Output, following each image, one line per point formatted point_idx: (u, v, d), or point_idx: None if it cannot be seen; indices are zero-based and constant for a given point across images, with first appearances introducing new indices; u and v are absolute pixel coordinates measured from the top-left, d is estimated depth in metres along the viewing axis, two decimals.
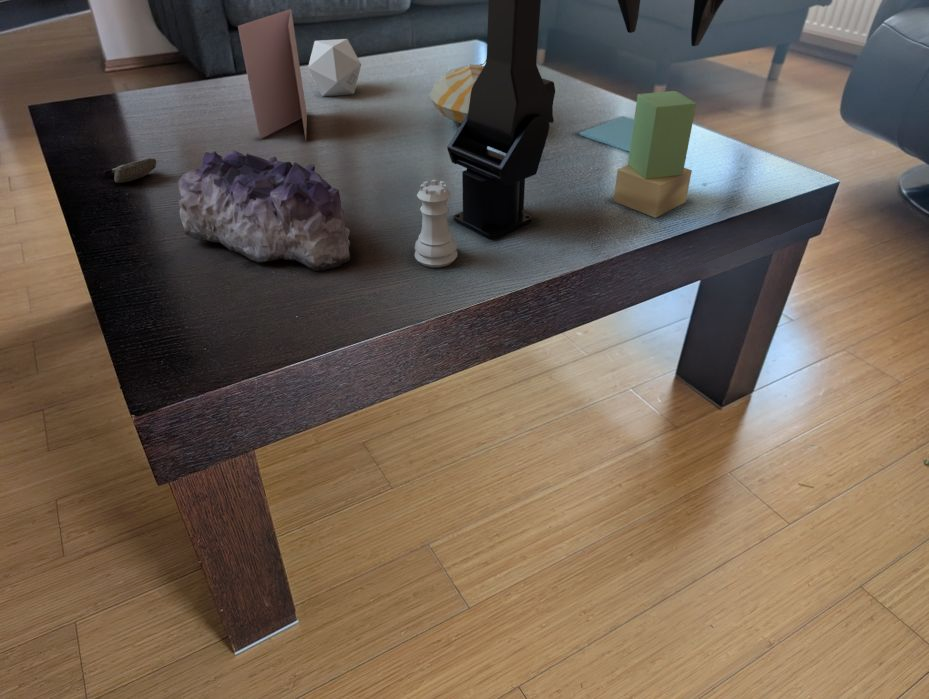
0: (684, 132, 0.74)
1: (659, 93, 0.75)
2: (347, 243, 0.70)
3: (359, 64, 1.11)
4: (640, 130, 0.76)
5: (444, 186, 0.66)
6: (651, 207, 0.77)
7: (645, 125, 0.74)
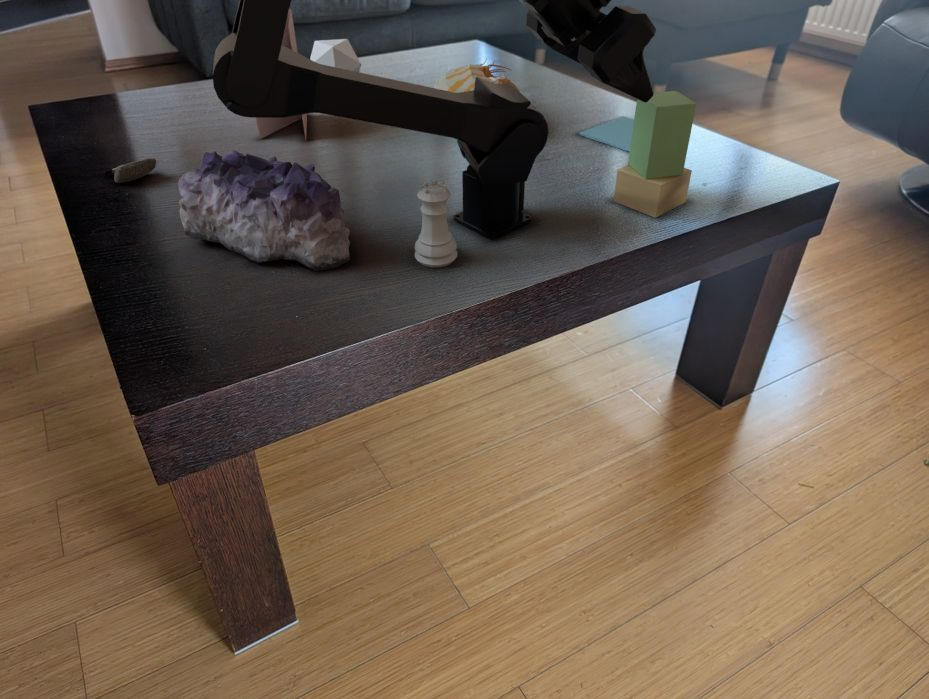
0: (684, 132, 0.74)
1: (659, 93, 0.75)
2: (347, 243, 0.70)
3: (359, 64, 1.11)
4: (640, 130, 0.76)
5: (444, 186, 0.66)
6: (651, 207, 0.77)
7: (645, 125, 0.74)
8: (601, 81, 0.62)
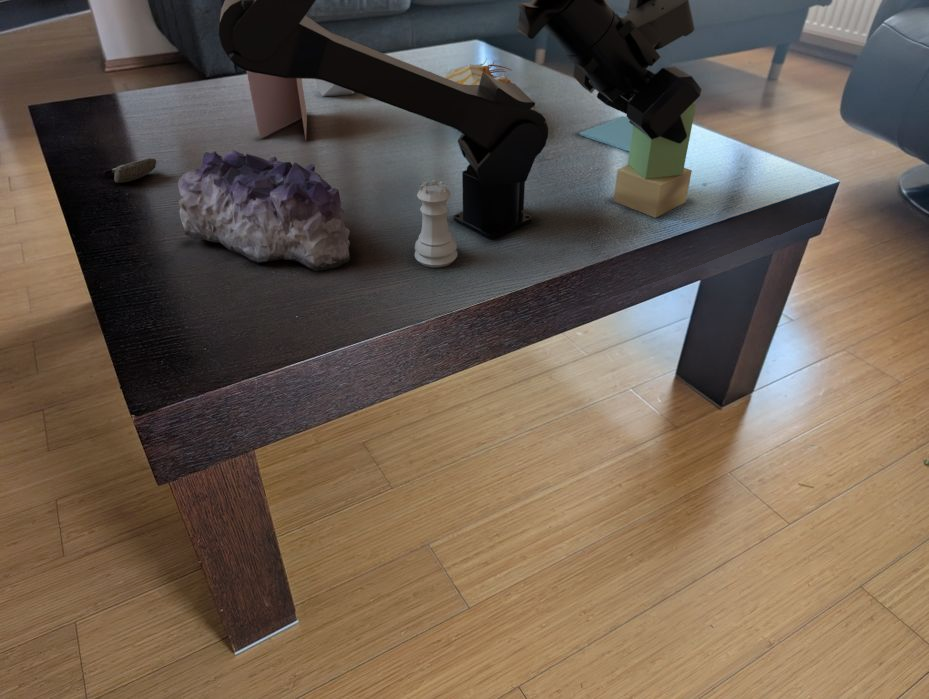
0: None
1: None
2: (347, 243, 0.70)
3: None
4: (639, 130, 0.76)
5: (444, 186, 0.66)
6: (651, 207, 0.77)
7: None
8: (649, 137, 0.66)
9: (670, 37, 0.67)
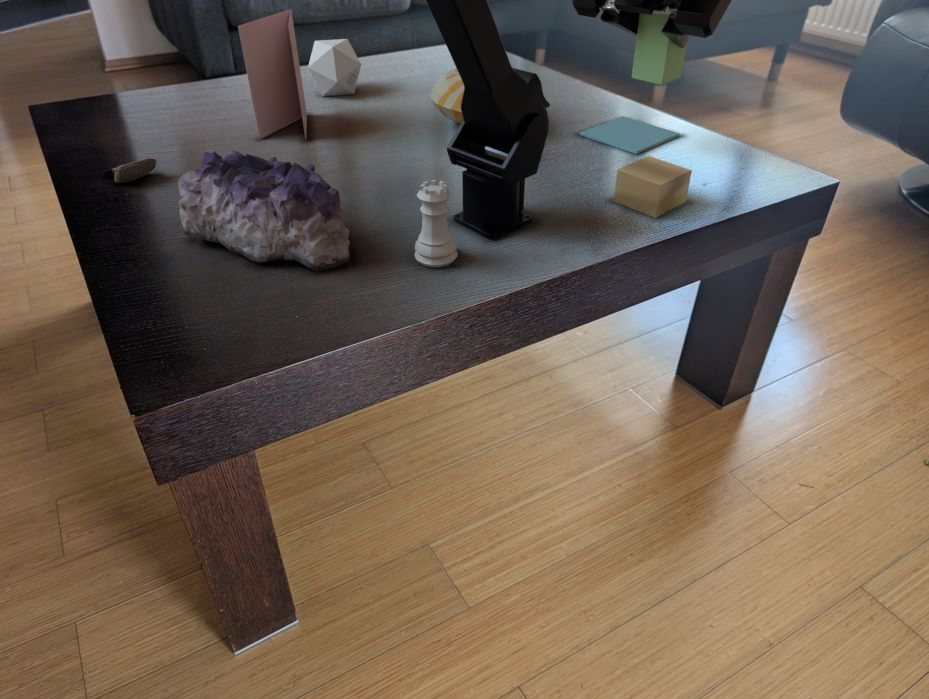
0: None
1: None
2: (347, 243, 0.70)
3: (359, 64, 1.11)
4: (648, 42, 0.85)
5: (444, 186, 0.66)
6: (651, 207, 0.77)
7: (657, 36, 0.84)
8: (702, 37, 0.76)
9: None
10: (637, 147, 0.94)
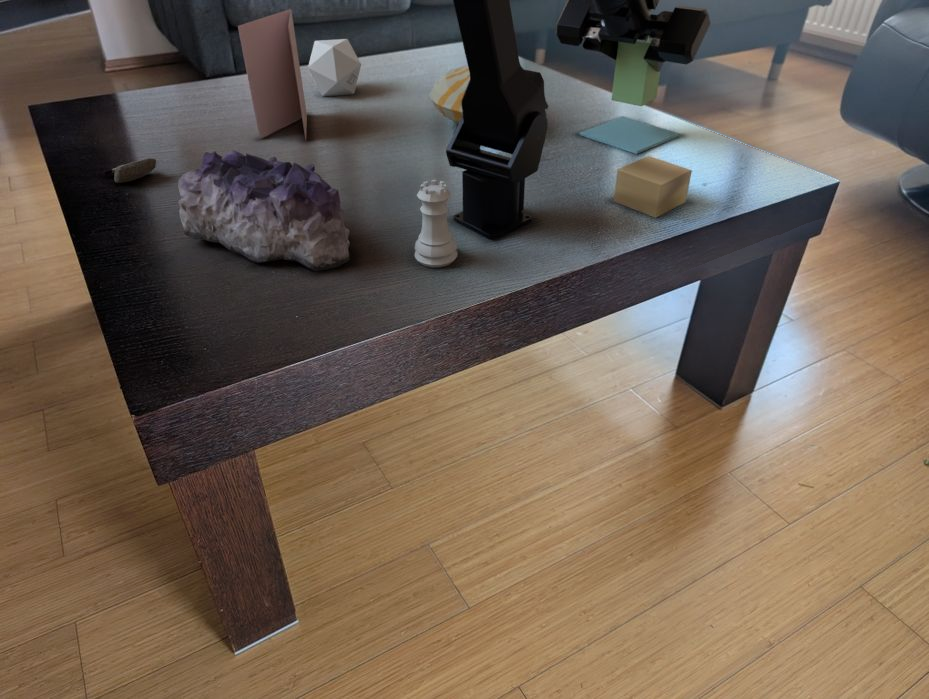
0: None
1: None
2: (346, 243, 0.70)
3: (359, 64, 1.11)
4: (627, 67, 0.91)
5: (444, 186, 0.66)
6: (651, 207, 0.77)
7: (635, 62, 0.90)
8: (683, 63, 0.83)
9: None
10: (637, 147, 0.94)
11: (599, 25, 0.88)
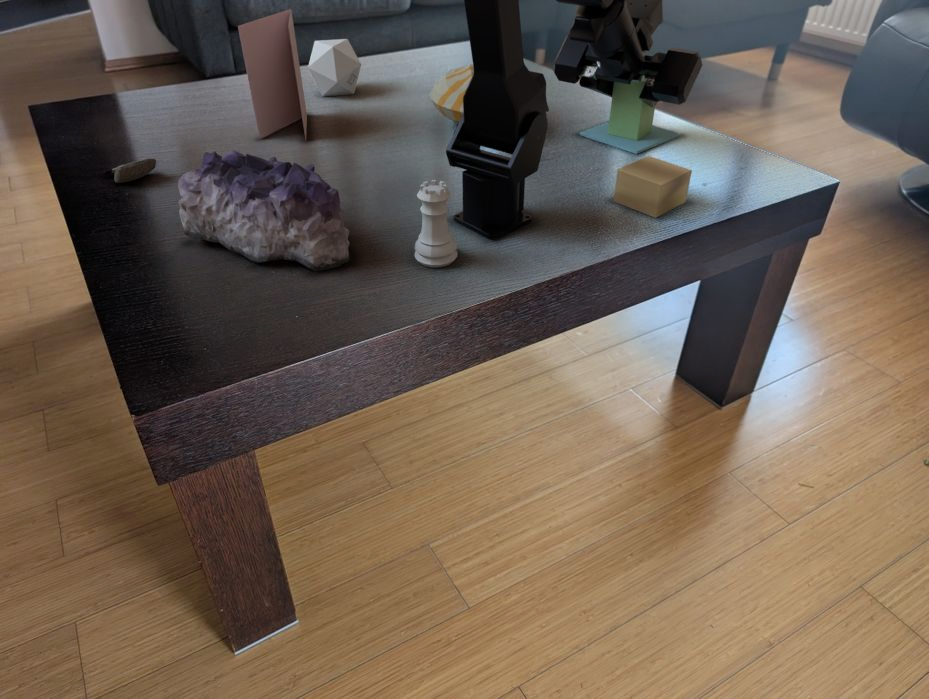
0: None
1: None
2: (346, 243, 0.70)
3: (359, 64, 1.11)
4: (622, 103, 0.94)
5: (444, 186, 0.66)
6: (651, 207, 0.77)
7: (631, 98, 0.93)
8: None
9: (655, 26, 0.87)
10: (637, 147, 0.94)
11: (595, 64, 0.91)
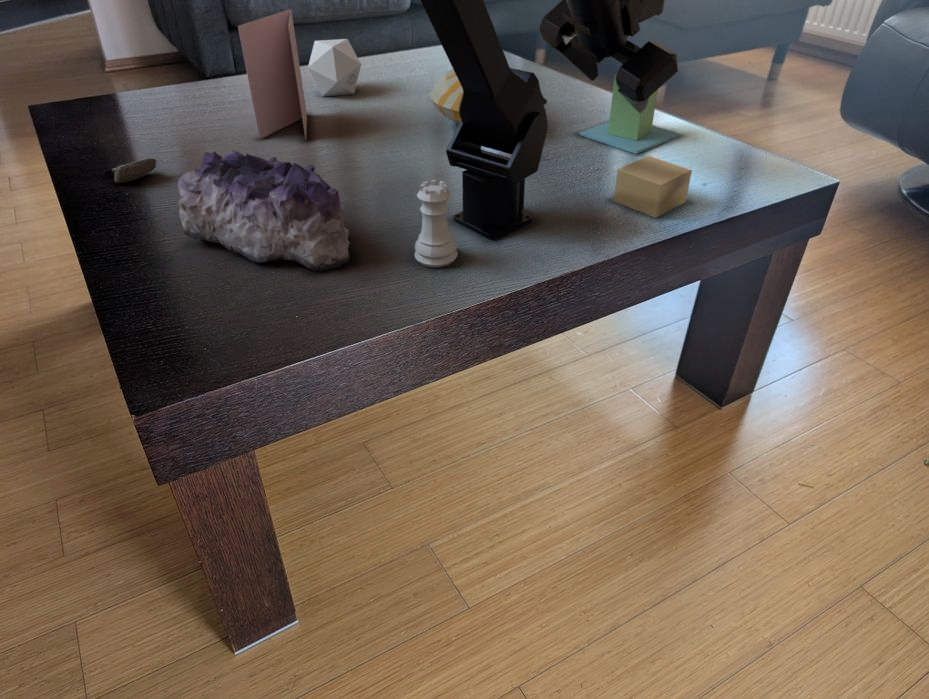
0: (654, 97, 0.95)
1: None
2: (346, 244, 0.70)
3: (359, 64, 1.11)
4: (622, 103, 0.94)
5: (444, 186, 0.66)
6: (651, 207, 0.77)
7: None
8: (635, 100, 0.79)
9: (648, 14, 0.80)
10: (637, 147, 0.94)
11: (569, 27, 0.85)
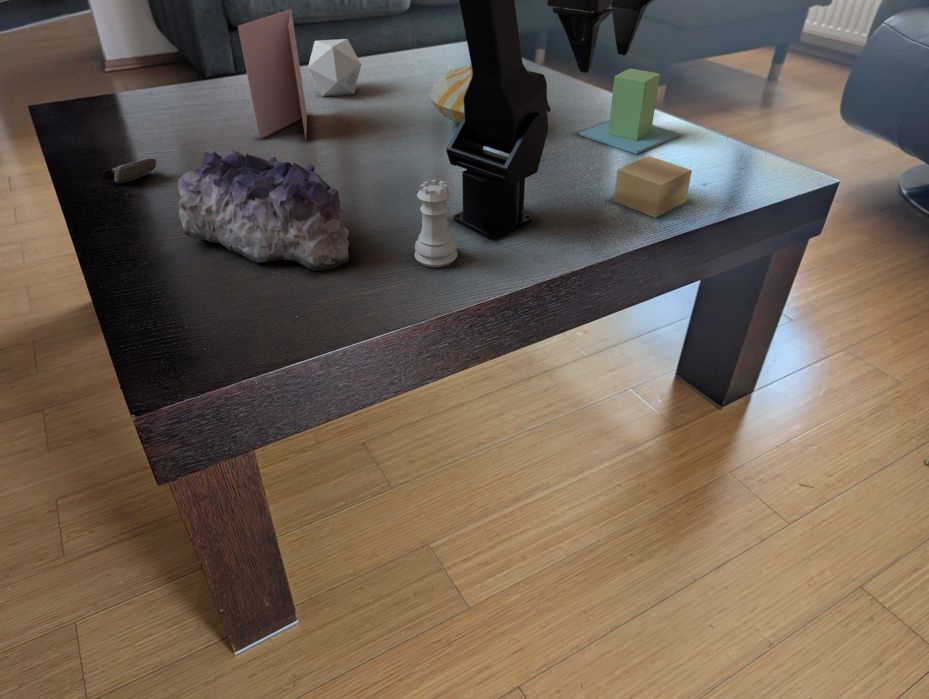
0: (654, 97, 0.95)
1: (626, 72, 0.94)
2: (346, 244, 0.70)
3: (359, 64, 1.11)
4: (622, 103, 0.94)
5: (444, 186, 0.66)
6: (651, 207, 0.77)
7: (631, 98, 0.93)
8: None
9: None
10: (637, 147, 0.94)
11: None
